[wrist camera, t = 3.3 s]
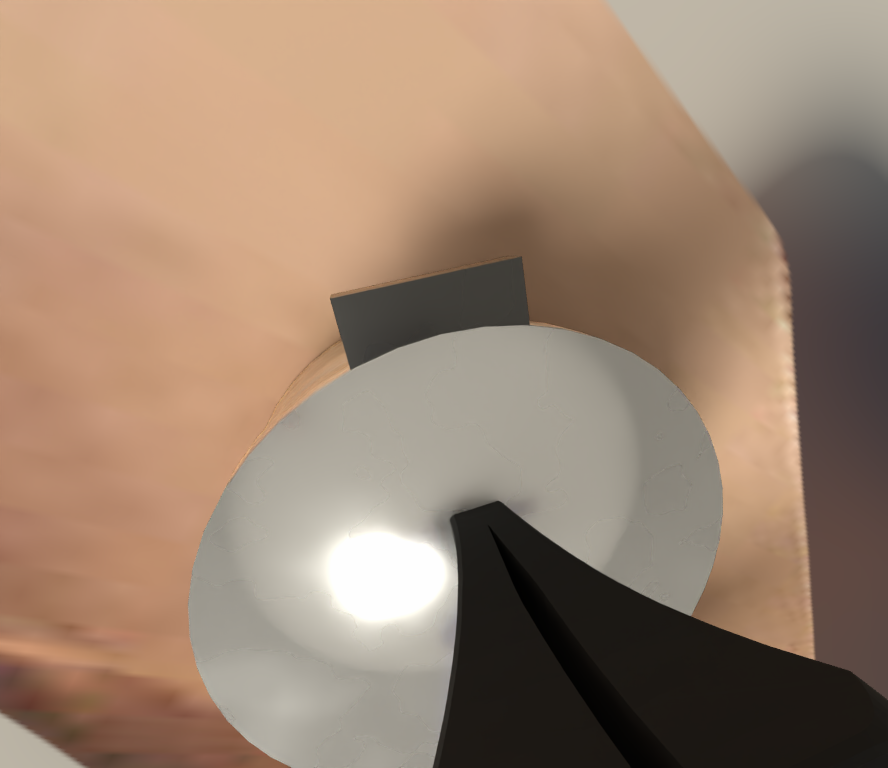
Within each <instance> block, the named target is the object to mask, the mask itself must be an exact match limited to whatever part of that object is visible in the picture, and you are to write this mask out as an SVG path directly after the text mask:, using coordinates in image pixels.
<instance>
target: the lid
mask: <svg viewBox="0 0 888 768" xmlns="http://www.w3.org/2000/svg"><path fill="white" fill-rule="evenodd" d="M330 300H331V304H332V307H333V311H334V314H335V318H336V321H337V325H338V328H339V332H340V335H341V339H342V342H343V346H344V349H345V353H346V356H347V360H348V361H347V362H345V363H344V364H342V365H341V366H339V367H337V368H336V369H334V370H333V371H331V372H329V373H328V374H326V375H325V376H323V377H321V378H320V379H318V380H317V381H316V382H314V383H313V384H312V385H311V386H310V387H308V388H307V389H306V390H305V391H304V392H302V393H301V394H300V395H299V396H297V397H296V398H295V399H294V400H293V401H291V402H290V403H289V404H288V405H287V406H285V407H284V408H283V410H282V411H281V412H280V413H279V414H278V415H277V416H276V417H275V418H274V419H273V420H272V421H271V422H270V424H269V425H268V426H267V427H266V428H265V429H264V430H263V431H262V432H261V433H260V434H259V435H258V436H257V438H256V439H255V441H254V442H253V444H252V445H251V446H250V448H249V449H248V451H247V452H246V454H245V455H244V456H243V458H242V459H241V461H240V462H239V464H238V465H237V467H236V468H235V469H234V471H233V473H232V475H231V477H230V479H229V482H228V484H227V486H226V488H225V490H224V492H223V494H222V496H221V498H220V500H219V502H218V504H217V506H216V508H215V510H214V512H213V514H212V516H211V518H210V520H209V522H208V524H207V526H206V528H205V530H204V533H203V536H202V540H201V543H200V546H199V549H198V552H197V556H196V559H195V562H194V565H193V570H192V578H191V585H190V593H189V601H188V611H189V630H190V640H191V644H192V648H193V652H194V656H195V660H196V665H197V669H198V671H199V673H200V675H201V677H202V679H203V682H204V684H205V686H206V688H207V690H208V693H209V695H210V697H211V698H212V700H213V701H214V702H215V704H216V705H217V707H218V708H219V709H220V711H221V712H222V714H223V715H224V716H225V718H226V719H227V721H228V722H229V723H230V724H231V725H232V726H233V727H234V728H235V729H236V730H238V731H239V732H240V733H241V734H242V735H243V736H244V737H245V738H246V739H247V740H248V741H249V742H250V743H252V744H253V745H255V746H256V747H257V748H259V749H260V750H262V751H263V752H265V753H266V754H267V755H269V756H270V757H272V758H274V759H276V760H278V761H280V762H282V763H284V764H286V765H288V766H290V767H292V768H433V764H434V759H435V755H436V750H437V745H438V741H439V736H440V731H441V727H442V722H443V717H444V712H445V706H446V701H447V695H448V688H449V682H450V675H451V668H452V661H453V653H454V644H455V634H456V622H457V600H458V568H457V551H456V547H455V542H454V538H453V533H452V529H451V525H450V519H451V517H452V516H453V515H455V514H458V513H461V512H464V511H467V510H471V509H474V508H477V507H480V506H483V505H486V504H489V503H492V502H495V501H500V502H502V503H504V504H505V505H506V506H507V507H508V508H510V509H511V510H512V511H513V512H514V513H516V514H517V515H518V516H519V517H521V518H522V519H523V520H525V521H526V522H527V523H528V524H530V525H531V526H532V527H534V528H535V529H536V530H538V531H539V532H540V533H542V534H543V535H545V536H546V537H547V538H549V539H550V540H552V541H553V542H555V543H556V544H557V545H559V546H560V547H562V548H563V549H565V550H566V551H568V552H569V553H571V554H572V555H574V556H575V557H577V558H578V559H580V560H582V561H583V562H585V563H587V564H588V565H590V566H591V567H593V568H595V569H596V570H598V571H600V572H601V573H603V574H605V575H607V576H608V577H610V578H612V579H614V580H616V581H617V582H619V583H621V584H623V585H625V586H627V587H629V588H631V589H633V590H634V591H636V592H638V593H640V594H642V595H644V596H646V597H648V598H651V599H653V600H655V601H657V602H659V603H661V604H663V605H666V606H668V607H670V608H673V609H675V610H677V611H680V612H682V613H684V614H687V615H689V616H691V615H692V613H693V611H694V609H695V607H696V605H697V603H698V601H699V599H700V597H701V595H702V593H703V591H704V589H705V586H706V583H707V581H708V578H709V575H710V572H711V570H712V567H713V564H714V560H715V556H716V552H717V548H718V544H719V540H720V532H721V524H722V515H723V497H722V482H721V476H720V469H719V463H718V459H717V456H716V453H715V450H714V447H713V444H712V441H711V438H710V435H709V433H708V431H707V430H706V428H705V426H704V424H703V422H702V420H701V418H700V416H699V414H698V412H697V411H696V410H695V408H694V407H693V406H692V404H691V403H690V402H689V400H688V399H687V398H686V396H685V395H684V394H683V392H682V391H681V390H680V389H679V388H678V387H677V386H676V385H675V384H674V383H673V382H671V381H670V380H669V379H668V378H667V377H666V376H665V375H664V374H663V373H662V372H661V371H660V370H658V369H657V368H655V367H654V366H652V365H651V364H649V363H648V362H646V361H645V360H643V359H642V358H640V357H638V356H637V355H635V354H634V353H632V352H630V351H628V350H625V349H623V348H621V347H619V346H616V345H614V344H612V343H609V342H607V341H605V340H602V339H600V338H597V337H594V336H591V335H588V334H585V333H582V332H579V331H575V330H571V329H568V328H564V327H560V326H556V325H552V324H548V323H543V322H533V321H529V314H528V306H527V297H526V289H525V281H524V272H523V264H522V256H506V257H501V258H497V259H492V260H487V261H483V262H478V263H474V264H469V265H465V266H460V267H455V268H451V269H446V270H442V271H437V272H433V273H428V274H423V275H419V276H414V277H410V278H405V279H401V280H396V281H392V282H387V283H382V284H378V285H373V286H369V287H364V288H360V289H355V290H350V291H346V292H341V293H337V294H332V295H331V297H330Z"/></svg>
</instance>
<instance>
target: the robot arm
mask: <svg viewBox="0 0 888 768" xmlns="http://www.w3.org/2000/svg"><path fill="white" fill-rule="evenodd" d="M450 525H451V529H452V533H453V538H454V542H455V547H456V551H457V568H458V600H457V622H456V634H455V644H454V653H453V661H452V668H451V675H450V682H449V688H448V695H447V701H446V706H445V712H444V717H443V722H442V727H441V731H440V736H439V741H438V745H437V750H436V755H435V759H434V764H433V768H888V700H887V699H886V698H885V697H883V696H882V695H881V694H879V693H878V692H877V691H876V690H874V689H873V688H872V687H870V686H869V685H867V684H866V683H865V682H864V681H862V680H861V679H860V678H858V677H857V676H856V675H854V674H853V673H852V672H851V671H848V670H845V669H842V668H838V667H835V666H832V665H829V664H825V663H822V662H819V661H816V660H812V659H809V658H806V657H803V656H799V655H796V654H793V653H790V652H786V651H783V650H780V649H777V648H773V647H770V646H767V645H765V644H762V643H759V642H756V641H753V640H751V639H748V638H745V637H742V636H740V635H737V634H734V633H731V632H729V631H726V630H723V629H720V628H718V627H715V626H713V625H710V624H708V623H705V622H703V621H701V620H698V619H696V618H694V617H691V616H689V615H687V614H684V613H682V612H680V611H677V610H675V609H673V608H670V607H668V606H666V605H663V604H661V603H659V602H657V601H655V600H653V599H651V598H648V597H646V596H644V595H642V594H640V593H638V592H636V591H634V590H633V589H631V588H629V587H627V586H625V585H623V584H621V583H619V582H617V581H616V580H614V579H612V578H610V577H608V576H607V575H605V574H603V573H601V572H600V571H598V570H596V569H595V568H593V567H591V566H590V565H588V564H587V563H585V562H583V561H582V560H580V559H578V558H577V557H575V556H574V555H572V554H571V553H569V552H568V551H566V550H565V549H563V548H562V547H560V546H559V545H557V544H556V543H555V542H553V541H552V540H550V539H549V538H547V537H546V536H545V535H543V534H542V533H540V532H539V531H538V530H536V529H535V528H534V527H532V526H531V525H530V524H528V523H527V522H526V521H525V520H523V519H522V518H521V517H519V516H518V515H517V514H516V513H514V512H513V511H512V510H511V509H510V508H508V507H507V506H506V505H505V504H504V503H502V502H500V501H495V502H492V503H489V504H486V505H483V506H480V507H477V508H474V509H471V510H467V511H464V512H461V513H458V514H455V515H453V516H452V517H451V519H450Z"/></svg>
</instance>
